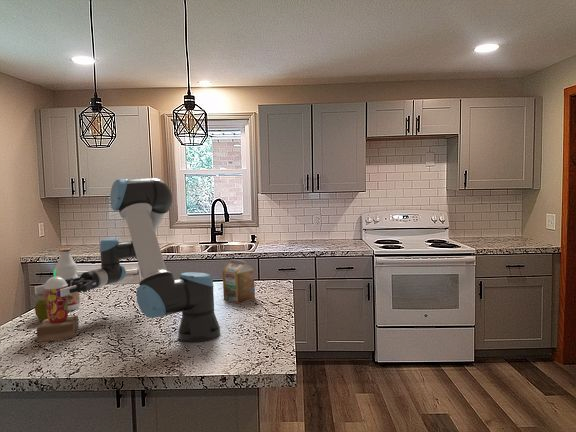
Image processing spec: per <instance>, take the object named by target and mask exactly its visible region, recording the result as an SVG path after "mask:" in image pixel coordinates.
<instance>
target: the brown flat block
mask: <svg viewBox="0 0 576 432" xmlns="http://www.w3.org/2000/svg"><path fill="white" fill-rule="evenodd" d="M79 327H80V325H79V315H70V316H68V317H67V320H66V321H64V322H61V323H50V321H49V320H48V319H44V320H43V321H41V323H40V324H39V325H38V326H37V327H36V337H37V339H36V340H37V343H42V342H41V341H43V342H49V341H48V340H51V341H57V340H58V339H60V340H66V339H65V338H68V339H74V338H75V336H76V334H77V332H78V330H79V329H80V328H79Z"/></svg>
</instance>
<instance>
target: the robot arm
mask: <svg viewBox="0 0 576 432" xmlns="http://www.w3.org/2000/svg"><path fill="white" fill-rule="evenodd" d="M172 204H173V193H172V191H171V188H170V187H169V186H168V184H167V183H166V182H165V181H163V180H162V179H159V178H155V177H144V178H127V177H125V178H118V179H115V181H113V183H112V185H111V190H110V206H111V209H112V210H113V211H115V212H117V211H118V212H119V216H120V217H121V218H122V219H125V220H126V221H125V222H126V224H127V227H128V232H129V235H130V239H131V240H127V241H119V239H118V238H117V237H116V238H113V237H112V238H103V239H101V240H100V242H99V253H100V254H99V256H100V266H101V268H97V269H96V268H95V269H92V270H89V271H88V270H87V271H85V272H82V274H81V275H80V277H78V278H75V279H73V278H70V279H65V281H66V283H67V284H68V287H67V288H64V289H60V294H61V297H63V296H67V295H70V294H73V293H77V292H79V293H81V292H82V293H86V292H89V291H91V290H95V289H97V288H98V289H100V288H101V287H104V286H107V285H111V284H115V283H117V282H121V281H123V280H124V279H125V278H126V275H127V271H126V268H125V266H124V265H123V264H121V263H120V260H124V259H130V258H132V259H133V258H136V260H137V263H138V267H139V270H140V274H141V275H140V276H141V279H140V281H139V283H138V284H139V286H138V287H137V289H136V291H135V293H136V294H135V296H136V301H137V305H138V307H139V308H138V309H140V311H141V313H142V314H143V315H144V316H145V317H146V318H149V319H154V318H155V319H156V318H163V317H165V316H168V315H173V314H176V313H177V314H178V313H181V315H182V316H181V319H180V320H181V321H180V322H179V323H180V324H179V327H178V331H177V333H178V335H177V336H178V339H179V340H181V342H186V343H187V342H188V343H200V342H206V341H210V340H213V339H215V338H217V337H219V336H220V334H221V327H220V323H219V321H218V319H217V317H216V314H215V296H214V286H215V285H214V280H213V276H212V275H211V274H209V273H204V272H197V271H196V272H191V271H189V272H182V273H180V275H179V278H175V277H174V275H173V273H172V271H168V270H167V267H166V264H165V260H164V257H163V254H162V250H161V247H160V243H159V241H158V237H157V234H156V232H157V230H158V228H159V225H160V224H161V222H162V220H163V217H164V215H165V214H167V213H169V211H170V209H171V207H172ZM44 285H45V284H41V285H37V286H34V294H35V295H38V294H42V293H43V294H44V289H43V287H44ZM70 285H72V286H70ZM101 289H102V288H101Z"/></svg>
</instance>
